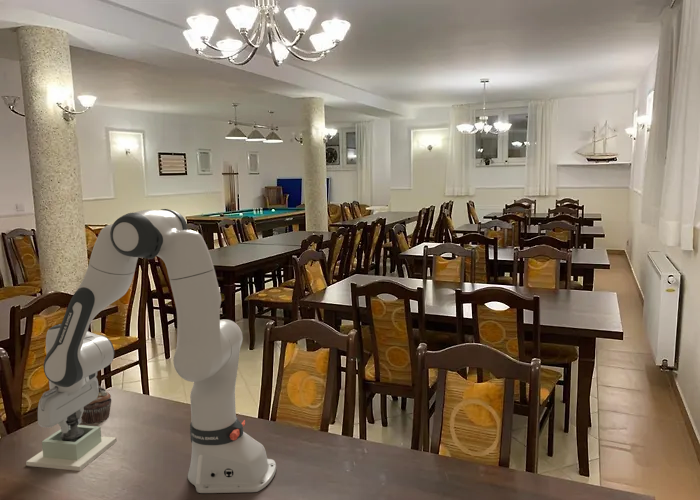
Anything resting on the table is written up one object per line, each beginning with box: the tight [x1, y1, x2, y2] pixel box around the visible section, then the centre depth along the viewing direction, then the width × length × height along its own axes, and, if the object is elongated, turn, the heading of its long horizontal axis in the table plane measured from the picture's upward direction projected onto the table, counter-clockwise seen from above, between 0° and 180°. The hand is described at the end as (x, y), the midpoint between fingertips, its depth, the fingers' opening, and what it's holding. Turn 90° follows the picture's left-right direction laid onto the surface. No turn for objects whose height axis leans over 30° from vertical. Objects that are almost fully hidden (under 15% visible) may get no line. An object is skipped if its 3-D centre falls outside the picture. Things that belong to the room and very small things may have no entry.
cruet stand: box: [25, 424, 117, 472], centre depth 149 cm, size 16×16×6 cm
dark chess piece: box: [60, 412, 84, 442], centre depth 149 cm, size 6×6×12 cm
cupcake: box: [81, 385, 113, 425], centre depth 171 cm, size 10×10×10 cm
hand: (71, 427), depth 149 cm, fingers closed on dark chess piece, 3 cm apart
